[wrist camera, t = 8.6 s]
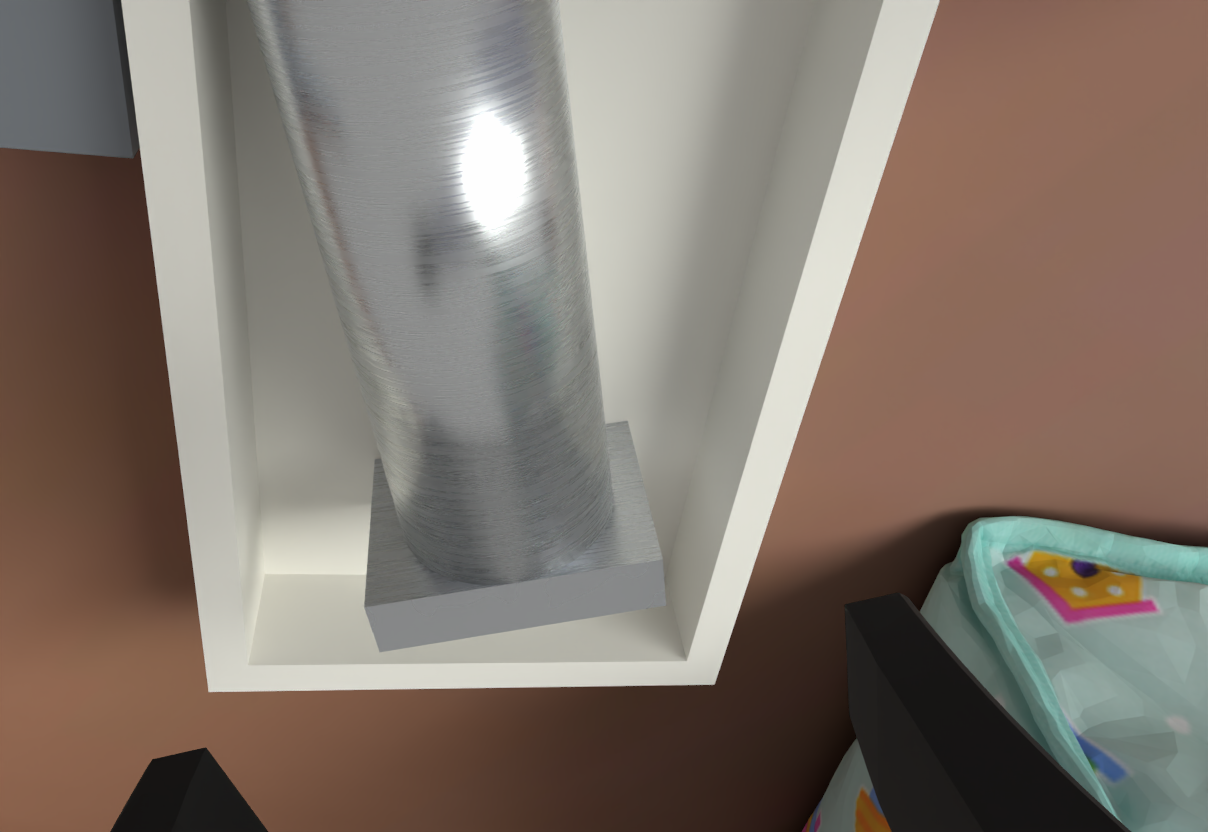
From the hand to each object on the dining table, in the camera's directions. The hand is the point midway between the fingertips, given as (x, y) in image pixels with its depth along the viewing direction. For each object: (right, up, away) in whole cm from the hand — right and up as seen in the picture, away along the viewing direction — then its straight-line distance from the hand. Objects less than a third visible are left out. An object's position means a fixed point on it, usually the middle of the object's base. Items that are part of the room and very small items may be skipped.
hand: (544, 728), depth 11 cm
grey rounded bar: (-2, +8, +5) cm, 10 cm away
